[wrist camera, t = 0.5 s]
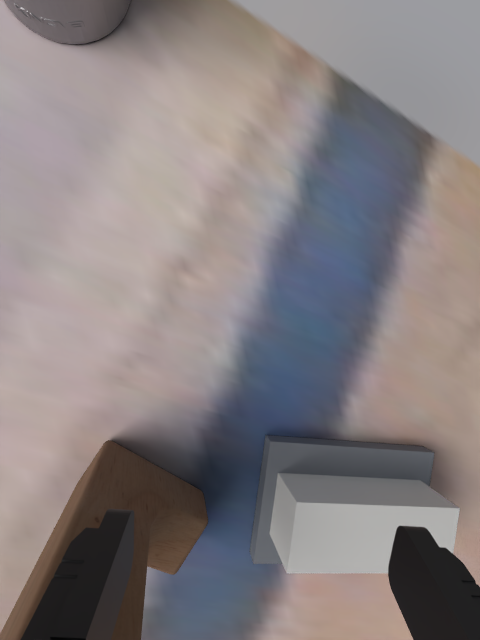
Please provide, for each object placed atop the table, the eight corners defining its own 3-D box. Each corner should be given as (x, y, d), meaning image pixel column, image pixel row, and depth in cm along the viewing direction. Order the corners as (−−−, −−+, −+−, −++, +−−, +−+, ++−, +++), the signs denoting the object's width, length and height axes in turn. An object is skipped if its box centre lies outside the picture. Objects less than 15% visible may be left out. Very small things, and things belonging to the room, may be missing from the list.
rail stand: (265, 435, 31) (287, 465, 25) (422, 446, 34) (475, 476, 28) (249, 551, 31) (267, 609, 25) (407, 553, 34) (456, 605, 28)
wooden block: (204, 490, 30) (253, 751, 13) (174, 538, 30) (181, 872, 12) (108, 436, 29) (10, 649, 11) (75, 486, 28) (-80, 787, 11)
